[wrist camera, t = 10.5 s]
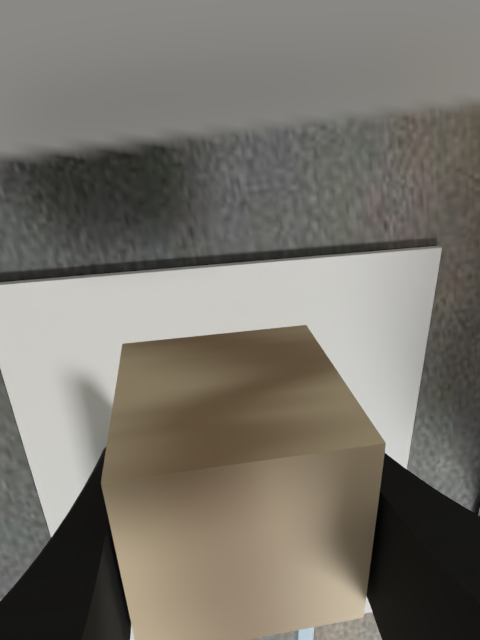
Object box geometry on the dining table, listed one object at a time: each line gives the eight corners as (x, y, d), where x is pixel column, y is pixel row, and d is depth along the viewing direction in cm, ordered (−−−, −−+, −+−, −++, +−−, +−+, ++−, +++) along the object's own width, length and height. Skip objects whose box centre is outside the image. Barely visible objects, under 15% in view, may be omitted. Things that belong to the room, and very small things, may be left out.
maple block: (306, 325, 13) (386, 443, 8) (302, 463, 15) (363, 617, 10) (122, 343, 12) (100, 483, 8) (145, 486, 14) (139, 659, 10)
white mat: (437, 245, 19) (441, 247, 19) (381, 604, 29) (383, 609, 29) (-22, 284, 17) (-25, 286, 16) (90, 660, 27) (89, 665, 27)
